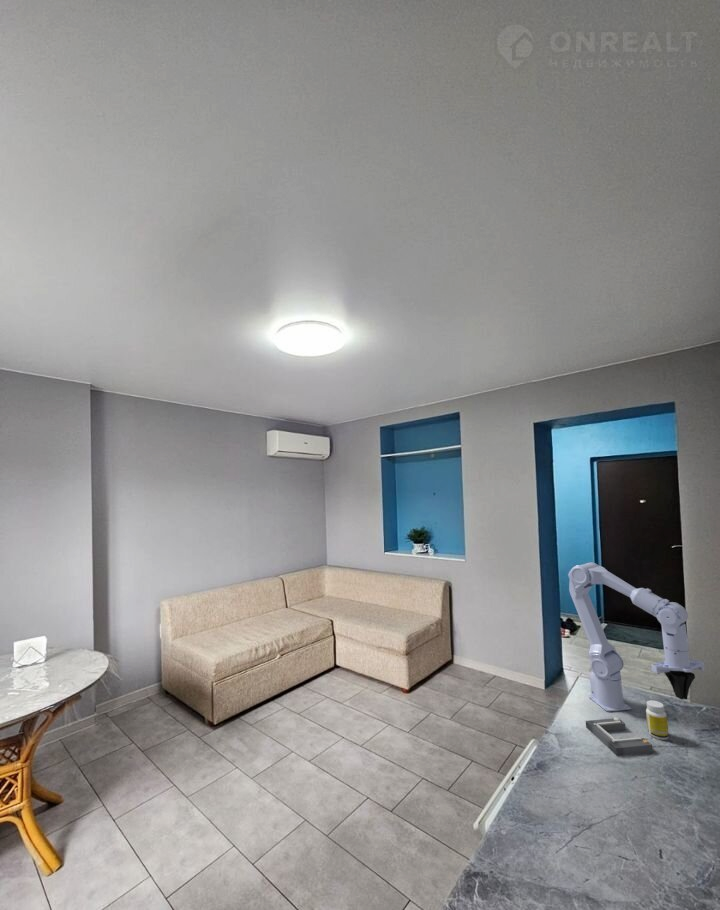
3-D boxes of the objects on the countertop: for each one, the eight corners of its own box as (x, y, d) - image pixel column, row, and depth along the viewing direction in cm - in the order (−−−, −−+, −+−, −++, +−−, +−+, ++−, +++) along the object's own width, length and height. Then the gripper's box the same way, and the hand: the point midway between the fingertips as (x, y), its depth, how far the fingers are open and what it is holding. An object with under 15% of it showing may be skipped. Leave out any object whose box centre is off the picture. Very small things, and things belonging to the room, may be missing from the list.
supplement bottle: (673, 740, 113) (669, 707, 113) (655, 740, 113) (652, 708, 114) (660, 730, 118) (657, 699, 118) (644, 730, 118) (641, 699, 118)
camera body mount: (586, 727, 120) (585, 718, 121) (618, 724, 121) (617, 715, 121) (616, 755, 107) (615, 745, 108) (652, 751, 108) (651, 742, 108)
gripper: (663, 655, 113) (668, 707, 112) (712, 651, 114) (718, 702, 113) (643, 645, 120) (648, 694, 119) (690, 642, 121) (695, 690, 120)
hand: (681, 697), depth 117 cm, fingers closed
